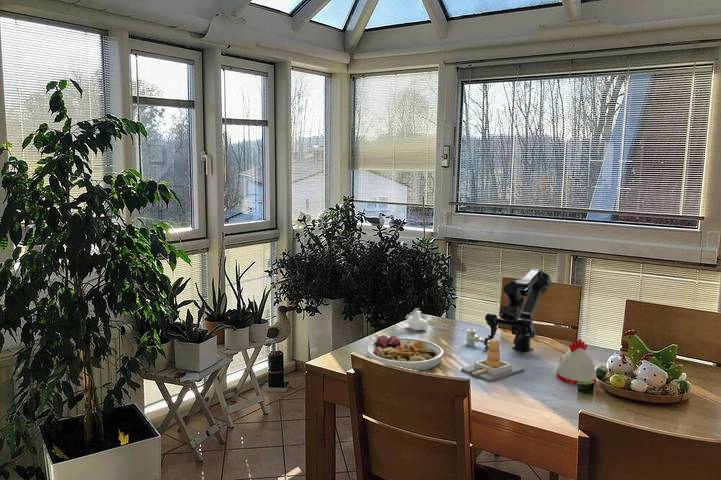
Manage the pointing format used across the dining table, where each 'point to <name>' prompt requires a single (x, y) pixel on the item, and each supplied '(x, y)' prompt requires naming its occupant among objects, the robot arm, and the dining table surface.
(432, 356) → the bowl
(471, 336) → the valve
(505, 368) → the plate
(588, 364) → the kitchen timer
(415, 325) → the duck figurine
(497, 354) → the tan ribbed cylinder
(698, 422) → the dining table surface
